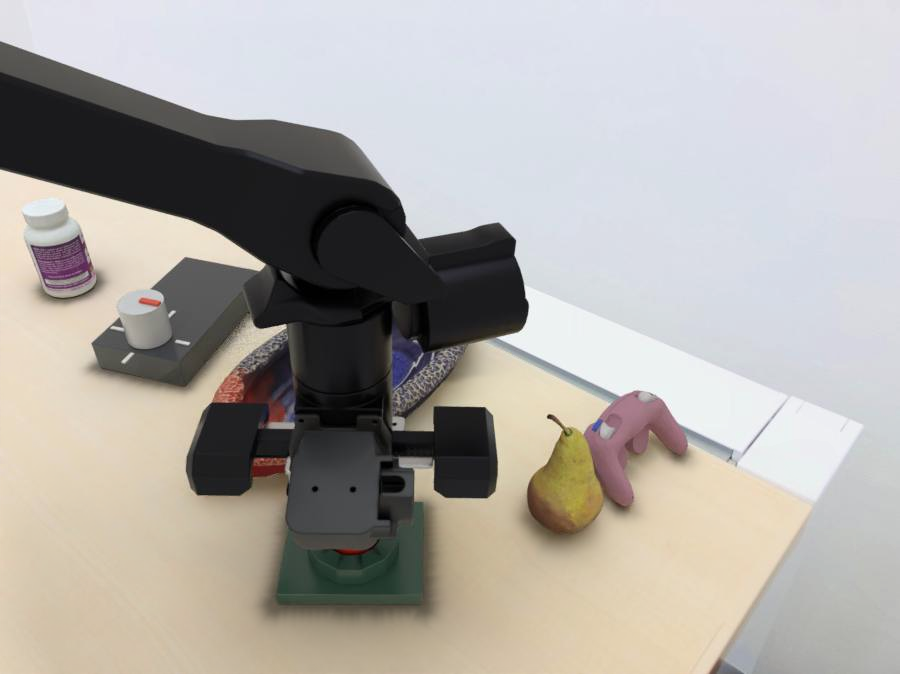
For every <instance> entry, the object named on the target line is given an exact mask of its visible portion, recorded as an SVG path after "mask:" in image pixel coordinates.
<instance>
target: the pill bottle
mask: <svg viewBox="0 0 900 674" xmlns="http://www.w3.org/2000/svg"><path fill="white" fill-rule="evenodd" d="M21 213H22V217H23V220H24V222H25V223H26V224H27V225H26V226H25V227H24V230H23V239H24V243H25V244H26V247H27V249H28V253H29V255H30V257H31V260H32V263H33V266H34V268H35V269H36V272H37V276H38V278H39V280H40V283H41V285H42V288H43V290H44V292H45V293H46V294H47V295H49V296H51V297H55V298H62V299H63V298H64V299H65V298H73V297H76V296H77V297H78V296H80V295H82V294H85V293H87V292H88V291H90V290H91V289H93V288H94V287H95V285H96V282H97V275H96V271H95V269H94V265H93V262H92V259H91V255H90V253H89V249H88V246H87V244H86V243H87V242H86V240H85V236H84V234H83V231H82V228H81V224H80V223H79V222H78V220H76V219H75V218H73V217H71V216H69V210H68V208H67V204H66V202H65V201H64V200H62V199H60V198H56V197H46V198H40V199H35V200H33V201H30V202H28V203H26V204H25V205H24V206H23V207H22V208H21Z"/></svg>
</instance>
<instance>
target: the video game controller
mask: <svg viewBox="0 0 900 674" xmlns="http://www.w3.org/2000/svg"><path fill="white" fill-rule="evenodd" d="M649 432H652V433H653V434H654V435H655V436H656V438H657V439H658V440H659V441H660V442H661V443H662V444H663V445H664V447H666V448H667V449H668V450H670V451H672V452H673V453H675V454H677V455H683V454H684V453H686V452H687V450H688V447H689V443H688V438H687V435H686V434H685V432H684V430H683V429H682V427H681V425H680V424H679V423H678V421H677V420H676V419H675V416H673V413H672V412H671V410H670V409H669V408H668V406H667V404H666V402H665V401H664V400H663V399H662V398H661V397H659V396H658V395H657V394H654V393H652V392H650V391H645V390H638V389H637V390H632V391H630V392H628V393H625V394H623V395H621V396H619V397H618V398H616V399H615V400H614V401H613V402H611V404H609V405H608V406H607V407H606V408H605V409H604V410H603V412H602V413H601V414H600V415H599V417H598V418H597V420H596V421H595V422H592V423H590V424H588V426H587V427H586V428H585V431H584V432H583V435H584V437H585V439H586V441H587V442H588V445H589V448H590V452H591V456H592V460H593V465H594V473H595V476H596V478H597V480H598V482H599V484H600V486H601V488H603V490H604V491H605V492H606V494H608V496H609V497H610V498H611V499H612V500H613V501H614V502H616V503H617V504H619V505H620V506H622V507H629V506H631V505H633V503H634V501H635V494H634V489H633V486H632V484H631V482H630V481H629V478H628V477H627V475H626V473H625V470H624V469H625V468H626V466H627V463H628V460H629V453H628V452H630V453H634V454H641V453H643V452H645V450H647V447H648V444H649Z"/></svg>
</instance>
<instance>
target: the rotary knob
mask: <svg viewBox="0 0 900 674" xmlns="http://www.w3.org/2000/svg"><path fill="white" fill-rule="evenodd" d="M116 309H117V312H118V316H119V317H120V319H121V322H122V326H123V329H124V332H125V335H126V339H127V342H128V344H129V345H130V346H132V347H134V348H137V349H152V348H156V347H159V346H161V345H163V344H165V343H166V342H167V341H168V340H169V339H170V338H171V336H172V328H171V324H170V320H169V316H168V312H167V308H166V304H165V300H164V296H163V295H162V294H161V293H160V292H158V291H156V290H151V288H144V289H143V288H142V289H136V290H132V291H129V292H128V293H125V294H124V295H122V296H121V297H120V298H119V299H118V300H117V302H116Z"/></svg>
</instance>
